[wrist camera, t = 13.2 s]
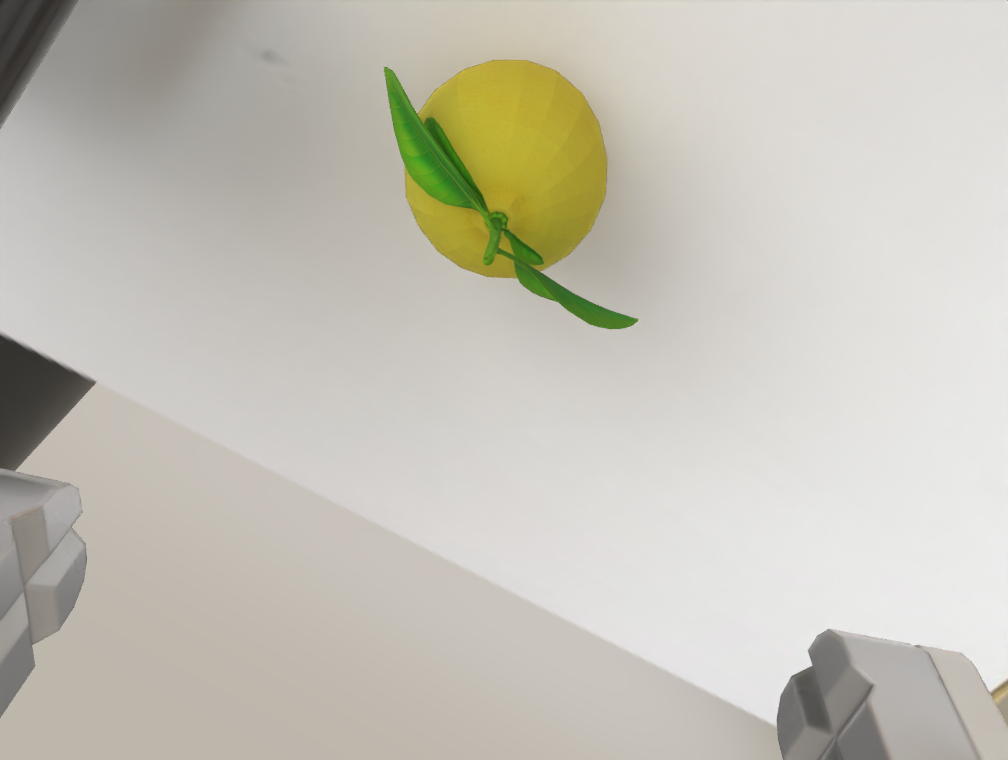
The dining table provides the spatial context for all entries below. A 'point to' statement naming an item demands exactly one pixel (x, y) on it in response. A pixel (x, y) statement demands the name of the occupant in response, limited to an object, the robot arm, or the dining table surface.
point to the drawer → (26, 43)
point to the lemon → (506, 174)
